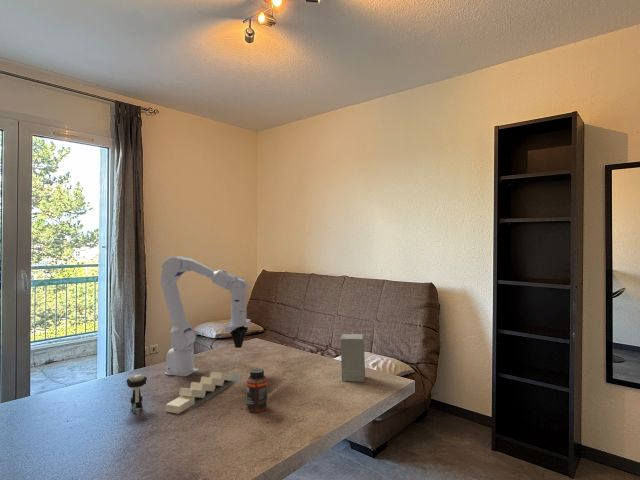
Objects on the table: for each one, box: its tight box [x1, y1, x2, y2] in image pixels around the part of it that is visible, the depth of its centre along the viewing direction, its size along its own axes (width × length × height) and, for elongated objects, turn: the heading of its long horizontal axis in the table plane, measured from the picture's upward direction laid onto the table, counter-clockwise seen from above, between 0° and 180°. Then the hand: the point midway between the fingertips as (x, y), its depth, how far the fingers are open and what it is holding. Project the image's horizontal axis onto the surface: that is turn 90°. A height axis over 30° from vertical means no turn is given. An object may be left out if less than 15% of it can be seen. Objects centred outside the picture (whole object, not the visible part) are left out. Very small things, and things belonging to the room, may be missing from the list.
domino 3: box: [189, 381, 215, 392], centre depth 117 cm, size 4×2×7 cm
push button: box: [126, 373, 148, 415], centre depth 105 cm, size 7×5×10 cm
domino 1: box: [165, 395, 195, 414], centre depth 107 cm, size 4×2×7 cm
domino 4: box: [199, 375, 224, 386], centre depth 121 cm, size 4×2×7 cm
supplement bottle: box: [246, 367, 268, 413], centre depth 107 cm, size 6×6×11 cm
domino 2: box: [178, 387, 206, 398], centre depth 112 cm, size 4×2×7 cm
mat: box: [186, 372, 245, 411], centre depth 120 cm, size 8×30×1 cm, turn 161°
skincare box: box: [339, 333, 366, 383], centre depth 132 cm, size 8×7×16 cm
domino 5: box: [209, 371, 232, 381], centre depth 126 cm, size 4×2×7 cm
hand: (238, 347), depth 137 cm, fingers closed
